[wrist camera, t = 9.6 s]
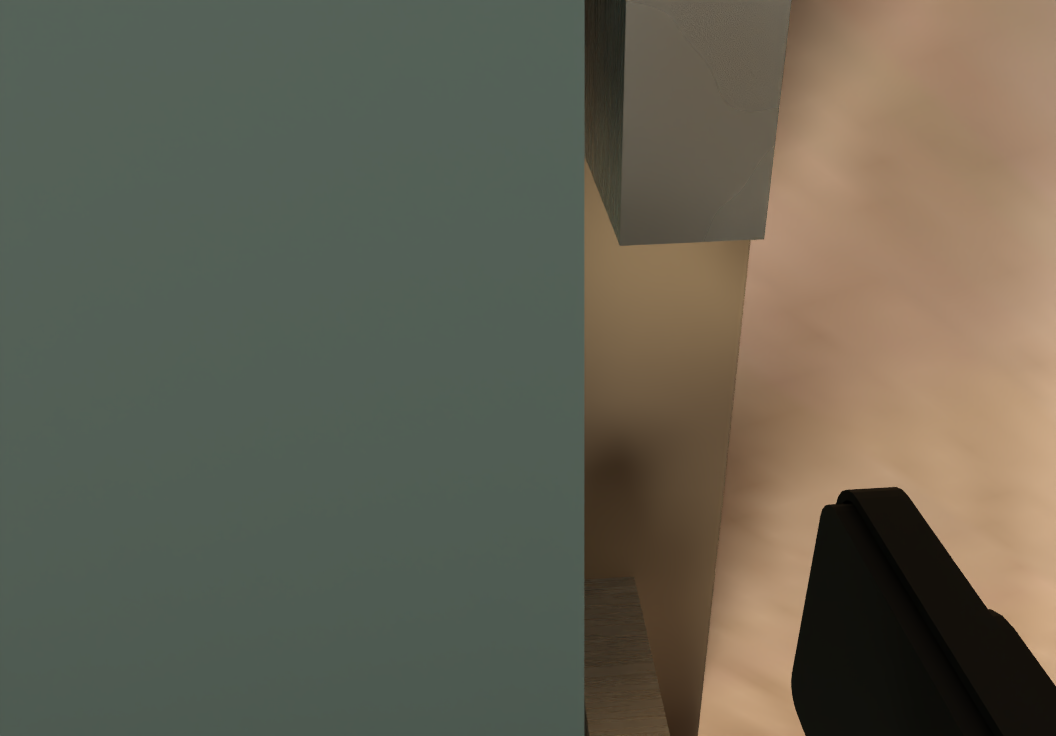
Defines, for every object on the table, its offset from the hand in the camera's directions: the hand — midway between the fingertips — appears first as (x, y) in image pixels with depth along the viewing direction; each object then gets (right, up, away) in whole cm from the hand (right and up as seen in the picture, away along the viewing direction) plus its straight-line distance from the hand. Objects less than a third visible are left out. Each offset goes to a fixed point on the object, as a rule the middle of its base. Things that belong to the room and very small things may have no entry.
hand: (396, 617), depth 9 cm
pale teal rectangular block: (0, +2, +4) cm, 5 cm away
